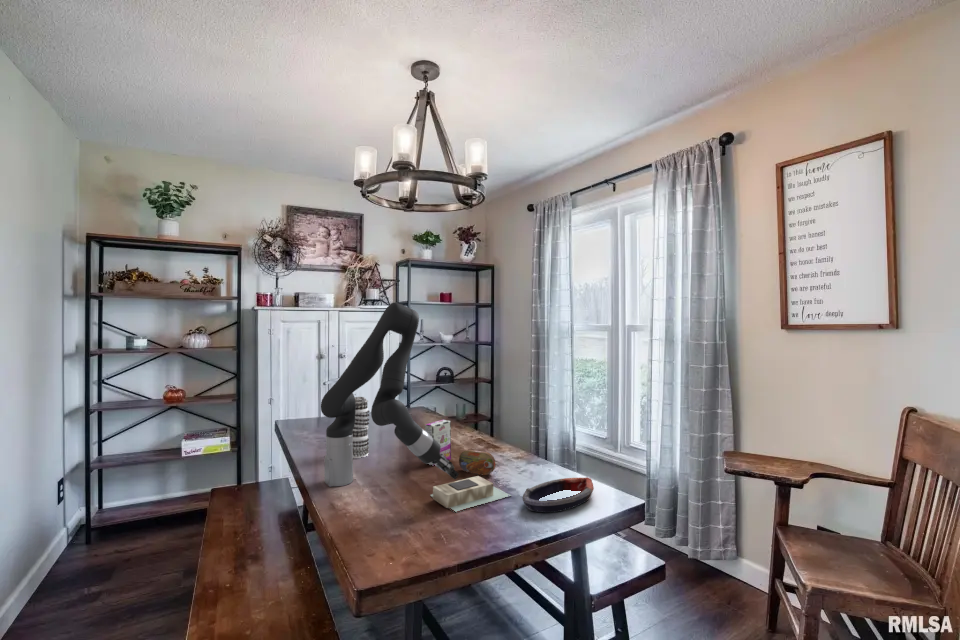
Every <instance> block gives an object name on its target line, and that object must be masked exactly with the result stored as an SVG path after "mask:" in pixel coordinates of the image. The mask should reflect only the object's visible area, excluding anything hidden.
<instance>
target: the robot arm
mask: <svg viewBox="0 0 960 640" xmlns="http://www.w3.org/2000/svg"><path fill="white" fill-rule="evenodd" d="M419 322H420V315H419V312H417V311H416V310H415V309H412V308H410V307H407V306H405V305H403V304H401V303H399V302H391V303H390V304H388V306H387V307H386V308H385V310H384V311H383V313H382V314H381V316H380V318H379V320H378V321H377V323H376V325H375V327H374V328H373V330H372V332H371V333H370V335H369V336H368V338H367V339H366V341H365V342H364V344H363V345H362V346H361V348H360V349H359V350H358V351H357V353H356V354H355V356H354V357H353V358H352V360H351V362H350V363H349V365H348V366H347V367H346V369H345V370H344V371H343V373H342V374H341V375H340V377H339V378H338V379H337V381H336V382H335V383H334V384H333V385H332V386H331V388H329V389H328V391H326V393H325V394H324V396H323V397H322V399H321V402H320V412H321V413H322V414H323V416H324V417H326V418H330V419H333V418H335V419H334V421H333V422H332V423H331V424H330V425H329V426H327V427H326V431H325V434H326V435H325V437H326V438H325V439H326V441H325V442H326V443H325V445H326V446H325V451H326V452H325V453H326V455H324V483H325V484H326V485H327V486H328V487H329V488H330V487H342V486H346V485H349V484H351V483H353V480H354V472H353V471H354V470H353V467H354V465H353V464H354V458H353V428H354V426H355V413H356V401H355V397H356V396H355V395H354V392H355V391H357V390H358V389H360V388H361V387H363V386H364V385H365V384H367V383H368V382H369V381H371V380H372V379H373V377H375V375H376V374H377V372H378V371H379V370H380V369H381V367H382V365H383V363H384V359H385V358H384V353H385V352H384V341H385V340H384V339H385V337H386V335H387V334H388V333H389V332H390V331H391V332H393V333H396V334H399V335H401V341H400V344H399V345H398V347H397V348H396V349H395V350H394V352H393V353H392V354H391V355H390V356H389V357H388V358H387V360H386V361H385V363H384V365H383V369H382V373H381V379H380V380H381V381H380V386H379V388H378V390H377V393H376V395H375V397H374V401H373V402H372V406H371V411H370V414H371V419H372V421H373V423H374V424H375V425H377V426H379V427H380V426H381V427H383V426H388V425H394V426H395V428H394V435H395V437H396V438H397V439H398V440H399V441H400V442H401V443H402V444H403V445H405V446H406V447H407V449H408V450H409V451H410V452H411V453H412V454H413V455H414V456H415V457H417V458H418V459H419V460H420V461H421V462H422V463H423V464H425V463H426V464H425V465H427V463H430V462H431V463H432V464H434V465H435V466H434V467H436V468H437V469H439V470H441V471H442V472H443V473H446V474H447V475H448V476H450V477H451V479H453V480H457V478H458V477H459V475H460V473H458V471H457V470H455V466H454V464H453V462H452V461H450V460H447V459H446V458H445V456H444V455H443V454H442V453H441V454H440V450H441V446H440V444H439V443H438V442H437V441H436V440H435V439H434V438H433V437H432V436H431V435H430V434H428V433H427V432H426V431H425V428H422V427H421V426H420V425H419V424H418V423H417V422H416V421H415V420H414V419H413V417H412V414H411V413H410V412H409V409H408V408H407V406H406V405H405V404H404V403H403V402H402V401H401V400H398V399H396V397H398V396H399V395H400V394H402V392H403V391H404V387H405V386H404V385H405V379H406V371H407V366H408V361H409V358H410V356H411V355H410V354H411V352H412V348H413V346H414V342H415V338H416V335H417V332H418V327H419Z"/></svg>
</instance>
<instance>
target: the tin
mask: <svg viewBox="0 0 960 640" xmlns="http://www.w3.org/2000/svg"><path fill="white" fill-rule="evenodd" d="M458 464H459V467H460V468H461V470H462V471H463V472H465V471H467V472H466V473H468V472H472V473H471V474H474V473H478V474H477V475H480V474H483V475H482V476H488V475H491V473H493V472H494V470H495V468H496V460H495V457H494V455H492V453H490V452H486V451H482V450H481V451H479V450H474V449H473V450H472V449H468V450H464V451H462V452H461V453H460V455H459V457H458Z"/></svg>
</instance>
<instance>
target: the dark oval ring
mask: <svg viewBox="0 0 960 640" xmlns="http://www.w3.org/2000/svg"><path fill="white" fill-rule="evenodd" d="M594 489H595V487H594V483H593V479H592V478H591V477H587V476H586V477H567V478H558V479H552V480H550V481H545V482H542V483H539V484H537V485H535V486H532V487H527V488H526V489H525V491H524V492H523V494H522V497H521V498H522V501H523V503H524V506H526V508H527V509H529V510H530V511H532V512H537V513H555V512H561V511H560V510H562V511H565V509H566V510H569V508H570V509H572V507H573V508H575V507H577V506H579V505H582V504H583V503H585V502H587V501H588V500H589V499H590V498H591V496H592V494H593V492H594ZM563 490H571V491H581V492H580V493H578V494H576V495H573V496H570V497H566V498H562V499H557V500H547V501H539V499H540V498H542V497H545V496H547V495H550V494H553V493H556V492H559V491H563ZM554 511H555V512H554Z"/></svg>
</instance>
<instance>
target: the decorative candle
mask: <svg viewBox="0 0 960 640" xmlns="http://www.w3.org/2000/svg"><path fill="white" fill-rule="evenodd" d="M354 397H355V401H356V413H355V426H354V428H353V459H362V458H361V457H364V458H367V457H368V456H369V455H368V454H370V453H369V452H370V450H369V448H370V446H369V443H370V442H369V440H370V439H369V434H368V433H369V432H368V429H369V425H370V423H369V421H370V418H368V417H370V414H369V413H371V411H370V410H369V407H368V402H369V400H368V399H367V398H366V397H365V396H354ZM366 456H367V457H366Z"/></svg>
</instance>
